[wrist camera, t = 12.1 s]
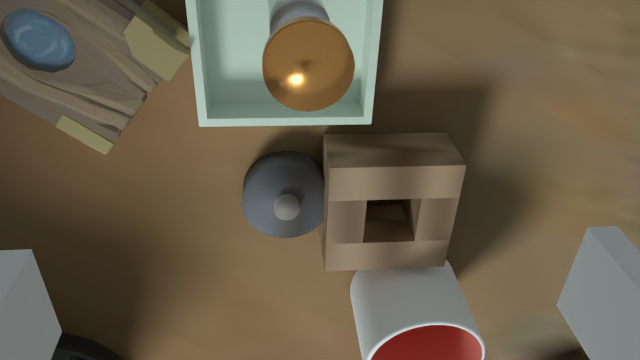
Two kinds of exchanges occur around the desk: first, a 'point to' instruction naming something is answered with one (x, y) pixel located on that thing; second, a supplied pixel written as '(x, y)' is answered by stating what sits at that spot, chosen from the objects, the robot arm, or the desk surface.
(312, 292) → the desk surface
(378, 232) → the block
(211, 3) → the tray
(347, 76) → the lock pin
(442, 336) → the cup
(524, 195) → the desk surface
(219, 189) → the desk surface
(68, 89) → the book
